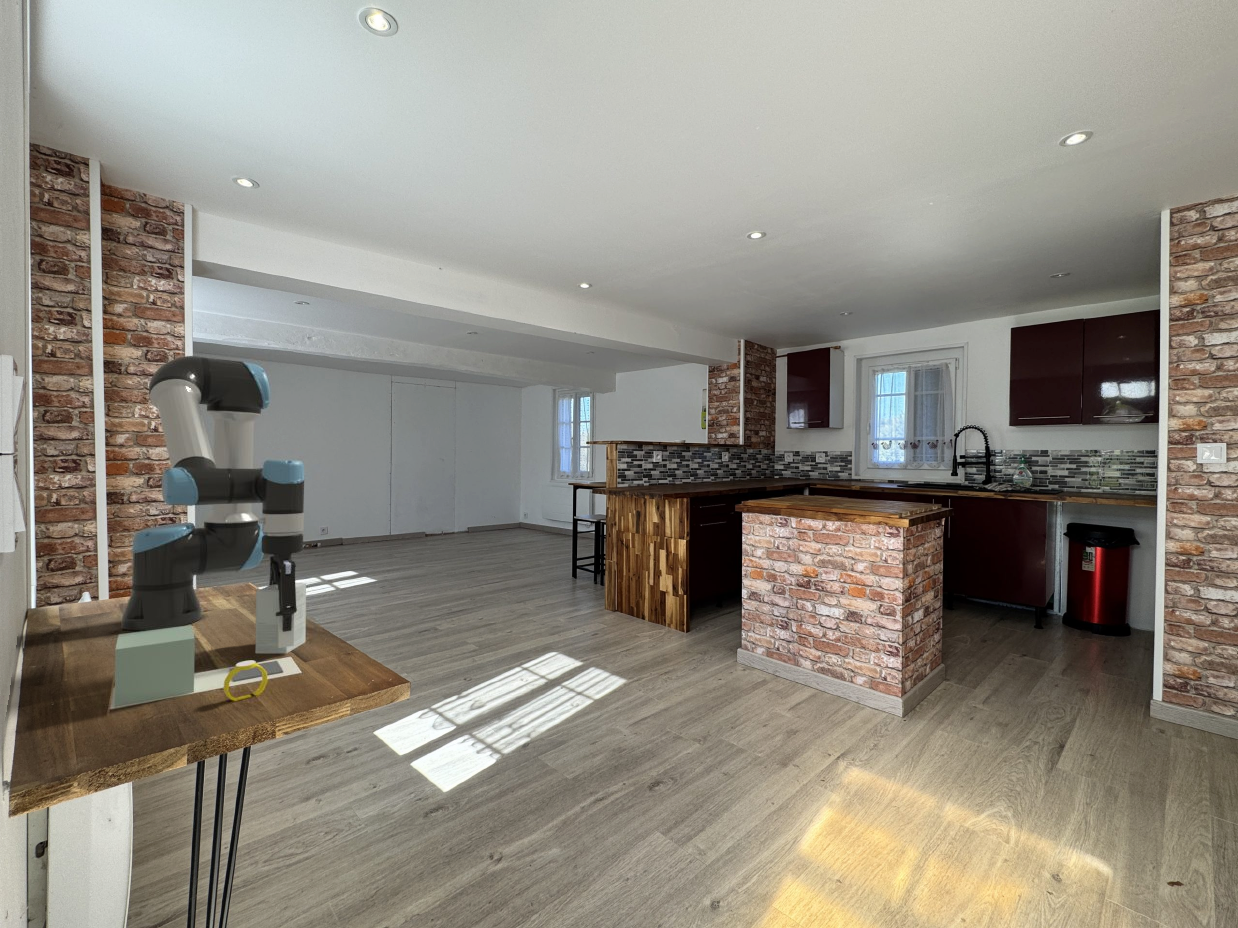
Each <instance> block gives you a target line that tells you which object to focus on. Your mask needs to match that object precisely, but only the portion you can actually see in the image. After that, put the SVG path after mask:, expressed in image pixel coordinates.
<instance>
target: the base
mask: <svg viewBox="0 0 1238 928" xmlns="http://www.w3.org/2000/svg"><path fill="white" fill-rule="evenodd" d="M256 664H258V665H260V666H262V667H263V668H264V670H265V671H266V672H267V680H272V679H277V678H282V677H287V676H292V675H297V674H302V673H303V672H302V671H301V669H300V668H299V666H298V665H297V664H296V662H295V660H294V659H293V658H292V656H287V657H282V658H276V659H269V660H264V661H258V662H256ZM234 668H236V665H235V666H230V667H223V668H219V669H213V670H205V671H201V672H194V692H192V693H187V694H182V695H176V696H171V697H166V698H161V699H155V700H150V701H145V702H139V703H134V704H129V705H124V706H118V707H114V706H115V686H114V687H113V690H112V695H111V701H110V707H109V710H114V709H120V708H124V707H129V706H134V705H140V704H145V703H150V702H151V703H152V702H156V701H161V700H168V699H171V698H177V697H182V696H186V695H193V694H198V693H202V692H209V691H213V690H219V689H223V688H224V681H225V679H226V677H227V676H228V674H229V672H230V671H232V670H233V669H234ZM256 682H262V672H261V671H260V669H259V668H256V667H254V668H251V669H248V670H240V671H239V672H237V673H236V674H235V675H234V676H233V678H232V679H231V681H230V682H229V688H230V687H235V686H239V685H245V684H249V683H256Z"/></svg>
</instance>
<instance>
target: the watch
mask: <svg viewBox="0 0 1238 928" xmlns="http://www.w3.org/2000/svg"><path fill="white" fill-rule="evenodd" d="M256 663H257V661H256V660H252V659H251V660H244V661H239V662H237V663H236V664H235V666H236V668H234V669H233V670H232V671H230V672H229V674H228V676H227V677H226V679H225V681H224V688H222V689H223V692H224V694H225V696H226V697H227V698H228V699H229V700H231V701H233V702H237V701H240V700H245V699H247V698H251V697H252V695H251V694H246V695H242V696H237V697H235V696H233V695H231V692H230V691H229V690H230V687H229V682H230V681H231V679H232V678H233V676H234V675H235V674H236V673H237V672H239V671H240V670H248V669H251V668H254V667H256V668H259V669H260V671H261V672H262V681H260V684H259V687H258V688H257V689H256V690H255V691H254V692H253V693H252V694H253V695H254V696H259V695H261V694H262V692H263V691H264V690H265V688H266V685H267V684H268V680H269V679H267V672H266V671H265V670H264V668H263V667H262V666H260V665H258V664H256Z"/></svg>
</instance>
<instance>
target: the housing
mask: <svg viewBox="0 0 1238 928" xmlns="http://www.w3.org/2000/svg"><path fill="white" fill-rule="evenodd" d="M195 646H196V637H195V634H194V628H193V625H192V624H187V625H181V626H176V627H171V628H164V629H155V630H141V631H136V632H128V633H120V634H118V636H117V640H116V645H115V653H114V654H115V655H114V656H115V657H114V658H115V659H114V660H115V662H114V663H115V664H114V687H115V706H114V707H118V706H124V705H129V704H134V703H139V702H145V701H150V700H155V699H161V698H166V697H171V696H176V695H182V694H187V693H192V692H194V673H195V655H196V654H195V653H196V652H195V649H196V647H195Z"/></svg>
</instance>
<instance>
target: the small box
mask: <svg viewBox="0 0 1238 928" xmlns="http://www.w3.org/2000/svg"><path fill="white" fill-rule="evenodd" d="M295 587H296V608H297V611H296V613H294V646H289V647H283V648H278V616H276V612H280V609H279V590H278V585H277V584H275V585H271V586H269V585H268V586H266V587H263V588H260V589H257V590H255V654H288V653H289V652H291V651H293V650H295V649H296V648H298V647H299V646H301V645H303V644H305V643H306V641H307V640H306V635H307V633H306V632H307V631H306V627H307V626H306V624H307V623H306V622H307V621H306V617H307V616H306V615H307V614H306V613H307V583H306V582H295ZM288 607H290V606H288ZM285 608H287V607H285Z"/></svg>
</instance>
